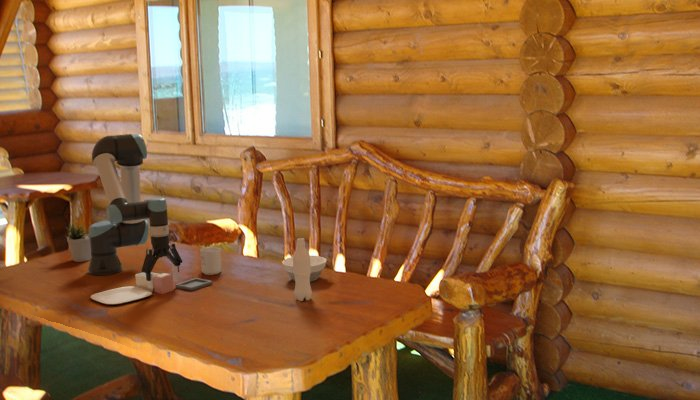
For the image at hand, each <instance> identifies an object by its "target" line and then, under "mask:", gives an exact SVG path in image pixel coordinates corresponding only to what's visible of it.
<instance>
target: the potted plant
mask: <svg viewBox="0 0 700 400" xmlns="http://www.w3.org/2000/svg"><path fill="white" fill-rule="evenodd" d="M79 225H80V224H78V225H77V226H75V224H74V223H73V222H72V223H68V225H67V226H65V228H66V229H67V231H68V232H67V234H68V236H66V235H62V236H63V237H65V238H66V241H67V244H68V247H69V250H70V251H69V252H70V255H71V258H72V261H73V262H75V263H83V262H89V261H90V259H91V250H90V239H89V228H87V227H88V225H87V226H85V224H82V225H81V226H79Z"/></svg>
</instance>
